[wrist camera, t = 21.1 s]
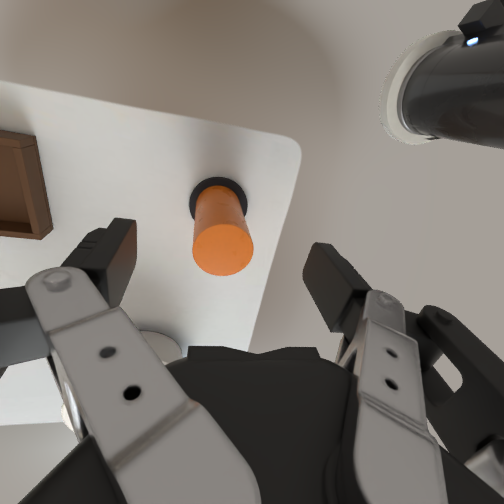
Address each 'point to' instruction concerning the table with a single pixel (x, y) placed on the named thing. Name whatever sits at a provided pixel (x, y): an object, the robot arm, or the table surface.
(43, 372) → the table surface
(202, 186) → the coaster
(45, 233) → the tray
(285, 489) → the robot arm
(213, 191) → the orange cylinder
